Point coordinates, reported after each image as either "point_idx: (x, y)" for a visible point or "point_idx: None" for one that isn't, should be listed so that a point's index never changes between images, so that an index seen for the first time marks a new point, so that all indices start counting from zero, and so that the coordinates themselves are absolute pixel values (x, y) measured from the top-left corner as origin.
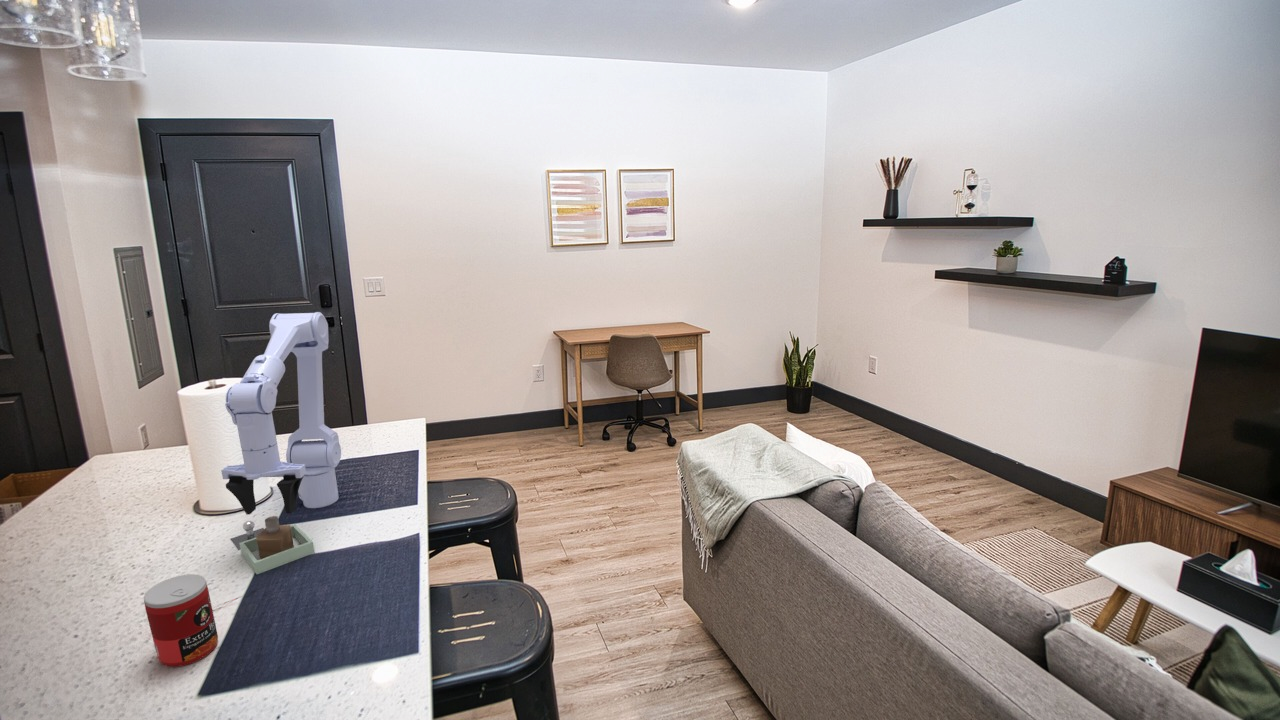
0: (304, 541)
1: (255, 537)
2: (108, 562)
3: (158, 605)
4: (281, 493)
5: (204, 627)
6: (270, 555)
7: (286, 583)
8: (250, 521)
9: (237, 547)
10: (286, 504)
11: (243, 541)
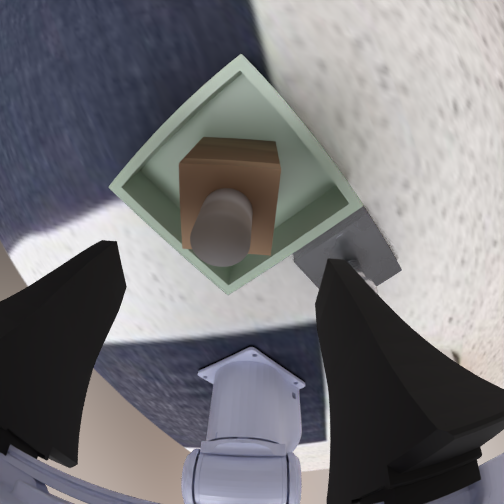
0: (159, 211)
1: None
2: None
3: None
4: (26, 319)
5: None
6: (238, 144)
7: (149, 44)
8: None
9: (374, 226)
10: (71, 267)
11: (367, 254)
